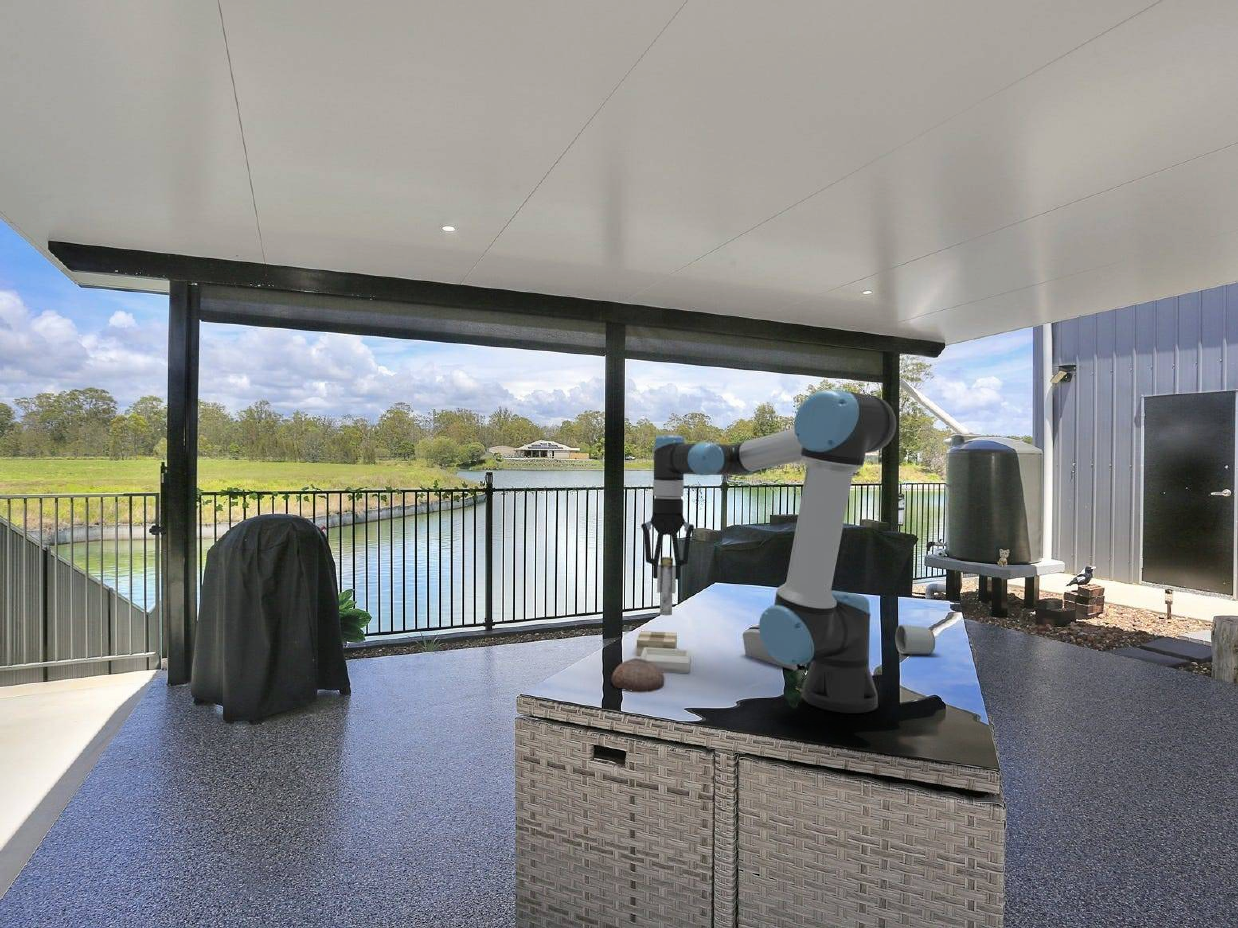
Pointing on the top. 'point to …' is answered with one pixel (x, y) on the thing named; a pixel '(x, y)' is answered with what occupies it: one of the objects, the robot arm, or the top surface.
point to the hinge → (760, 648)
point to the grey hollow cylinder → (914, 640)
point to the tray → (668, 659)
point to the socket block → (656, 640)
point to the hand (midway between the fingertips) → (666, 591)
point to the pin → (666, 586)
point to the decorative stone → (637, 676)
